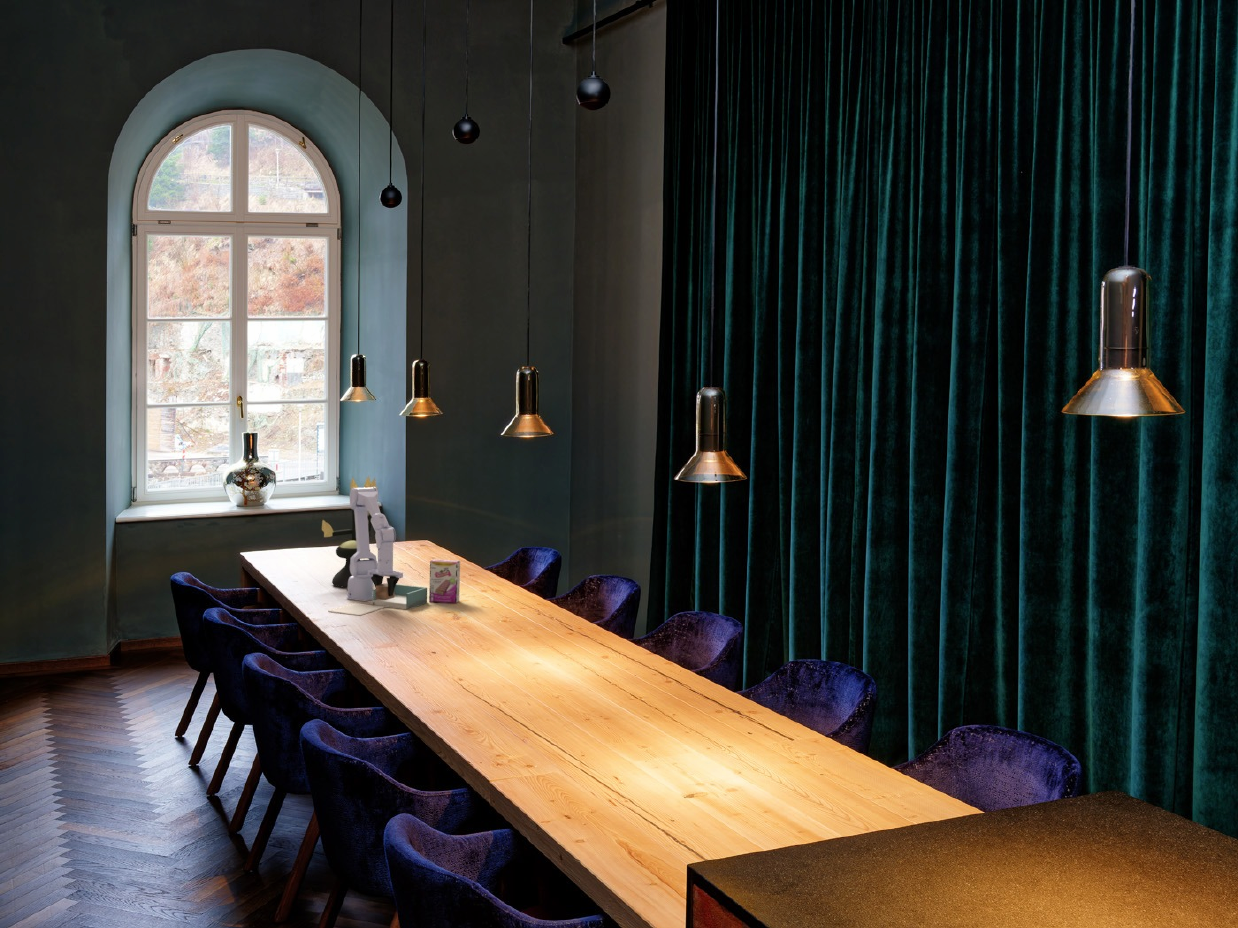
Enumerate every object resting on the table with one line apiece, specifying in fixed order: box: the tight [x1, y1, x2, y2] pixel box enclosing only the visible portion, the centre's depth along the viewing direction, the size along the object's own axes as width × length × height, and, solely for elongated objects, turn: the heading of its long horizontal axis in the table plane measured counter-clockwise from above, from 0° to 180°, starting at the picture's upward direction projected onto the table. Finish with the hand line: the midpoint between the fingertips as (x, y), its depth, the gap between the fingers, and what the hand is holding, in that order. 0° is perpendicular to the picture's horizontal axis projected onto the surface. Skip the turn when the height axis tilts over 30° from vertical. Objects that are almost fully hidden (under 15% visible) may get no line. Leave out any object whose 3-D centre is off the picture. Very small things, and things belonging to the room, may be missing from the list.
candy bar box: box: [428, 558, 461, 604], centre depth 467 cm, size 11×5×16 cm, turn 84°
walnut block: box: [375, 582, 395, 600], centre depth 451 cm, size 4×6×5 cm
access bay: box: [372, 583, 428, 610], centre depth 461 cm, size 16×14×6 cm
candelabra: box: [321, 475, 378, 589], centre depth 496 cm, size 19×22×45 cm
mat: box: [328, 602, 385, 617], centre depth 449 cm, size 14×16×1 cm
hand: (384, 595), depth 451 cm, fingers closed on walnut block, 4 cm apart
